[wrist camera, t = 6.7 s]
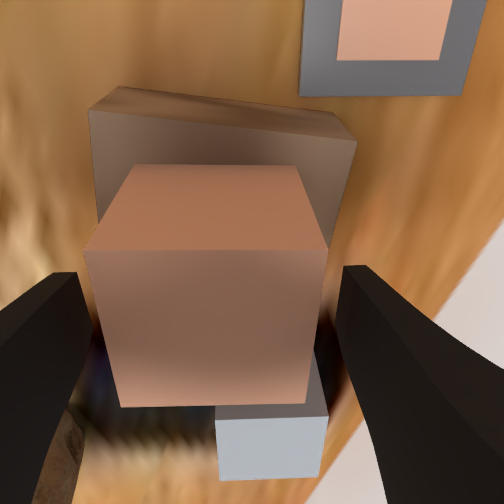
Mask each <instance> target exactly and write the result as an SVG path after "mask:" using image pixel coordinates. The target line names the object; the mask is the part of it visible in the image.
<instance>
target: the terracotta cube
mask: <svg viewBox="0 0 504 504" xmlns="http://www.w3.org/2000/svg"><path fill="white" fill-rule="evenodd" d="M83 253H84V257H85V261H86V265H87V269H88V273H89V277H90V281H91V286H92V290H93V294H94V298H95V302H96V306H97V310H98V314H99V318H100V323H101V327H102V331H103V335H104V339H105V343H106V347H107V351H108V356H109V360H110V364H111V368H112V372H113V376H114V380H115V384H116V389H117V393H118V397H119V401H120V405H121V407H155V406H203V405H250V404H297V403H305V400H306V394H307V387H308V380H309V374H310V367H311V361H312V354H313V347H314V341H315V334H316V328H317V321H318V314H319V308H320V301H321V295H322V288H323V281H324V275H325V268H326V262H327V255H328V248H327V245H326V243H325V240H324V237H323V235H322V232H321V230H320V227H319V225H318V222H317V219H316V217H315V214H314V212H313V209H312V207H311V204H310V201H309V199H308V196H307V194H306V191H305V188H304V186H303V183H302V181H301V178H300V176H299V173H298V170H297V168H296V166H295V165H186V164H134V166H133V168H132V169H131V171H130V173H129V174H128V176H127V178H126V179H125V181H124V183H123V184H122V186H121V188H120V189H119V191H118V193H117V194H116V196H115V198H114V199H113V201H112V203H111V204H110V206H109V208H108V209H107V211H106V213H105V214H104V216H103V218H102V219H101V221H100V223H99V224H98V226H97V228H96V229H95V231H94V233H93V234H92V236H91V238H90V239H89V241H88V243H87V244H86V246H85V248H84V249H83Z"/></svg>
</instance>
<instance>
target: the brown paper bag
mask: <svg viewBox="0 0 504 504" xmlns="http://www.w3.org/2000/svg"><path fill="white" fill-rule="evenodd" d="M83 451H84V440H83V434H82V432H81V429H80V427H78V426H77V425H76V424H75V422H74V419H73V416H72V415H71V414H70V413H69V412H68V411H66V410H65V411H64V413H63V415H62V418H61V420H60V423H59V425H58V427H57V430H56V432H55V434H54V437H53V439H52V442H51V444H50V447H49V450H48V452H47V455H46V458H45V461H44V464H43V467H42V470H41V474H40V477H39V480H38V483H37V487H36V490H35V493H34V497H33V500H32V503H31V504H71V503H72V499H73V495H74V492H75V488H76V484H77V479H78V474H79V470H80V466H81V461H82V456H83Z"/></svg>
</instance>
